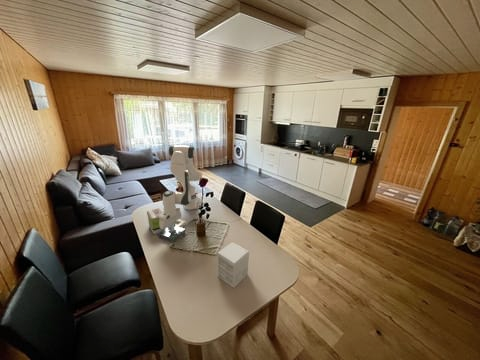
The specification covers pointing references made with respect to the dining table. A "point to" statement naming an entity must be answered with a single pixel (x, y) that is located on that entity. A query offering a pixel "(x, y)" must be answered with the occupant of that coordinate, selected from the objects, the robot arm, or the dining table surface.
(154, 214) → the tea box
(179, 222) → the holster
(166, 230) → the port block
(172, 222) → the plug peg
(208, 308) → the dining table surface
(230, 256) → the supplement box
